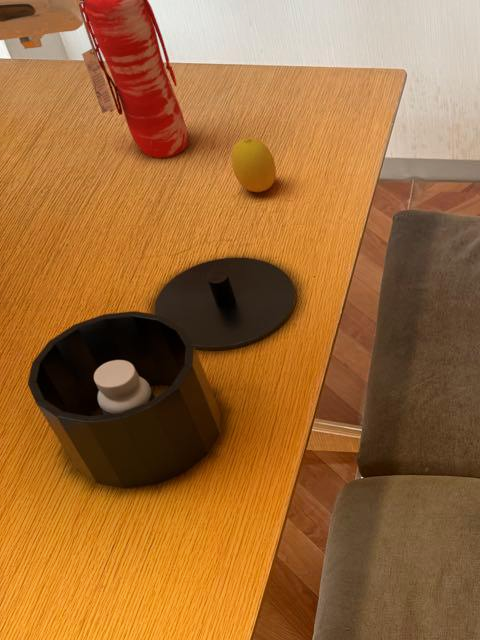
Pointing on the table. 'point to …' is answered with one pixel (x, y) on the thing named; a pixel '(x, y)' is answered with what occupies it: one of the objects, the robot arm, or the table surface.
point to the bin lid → (228, 302)
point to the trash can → (134, 424)
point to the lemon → (253, 165)
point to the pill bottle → (121, 387)
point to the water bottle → (134, 73)
